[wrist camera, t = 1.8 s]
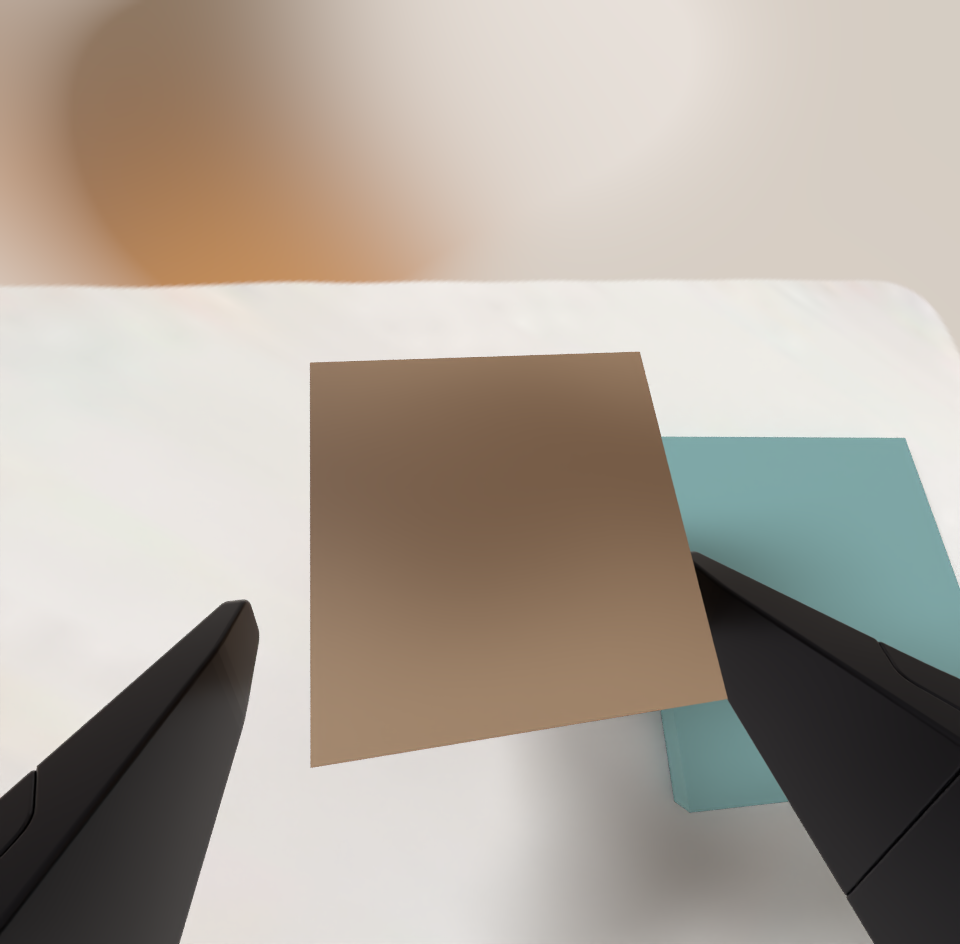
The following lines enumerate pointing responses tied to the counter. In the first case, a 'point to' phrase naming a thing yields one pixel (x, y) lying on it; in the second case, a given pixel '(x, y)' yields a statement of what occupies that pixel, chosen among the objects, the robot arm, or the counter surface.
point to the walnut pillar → (493, 553)
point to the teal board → (807, 571)
